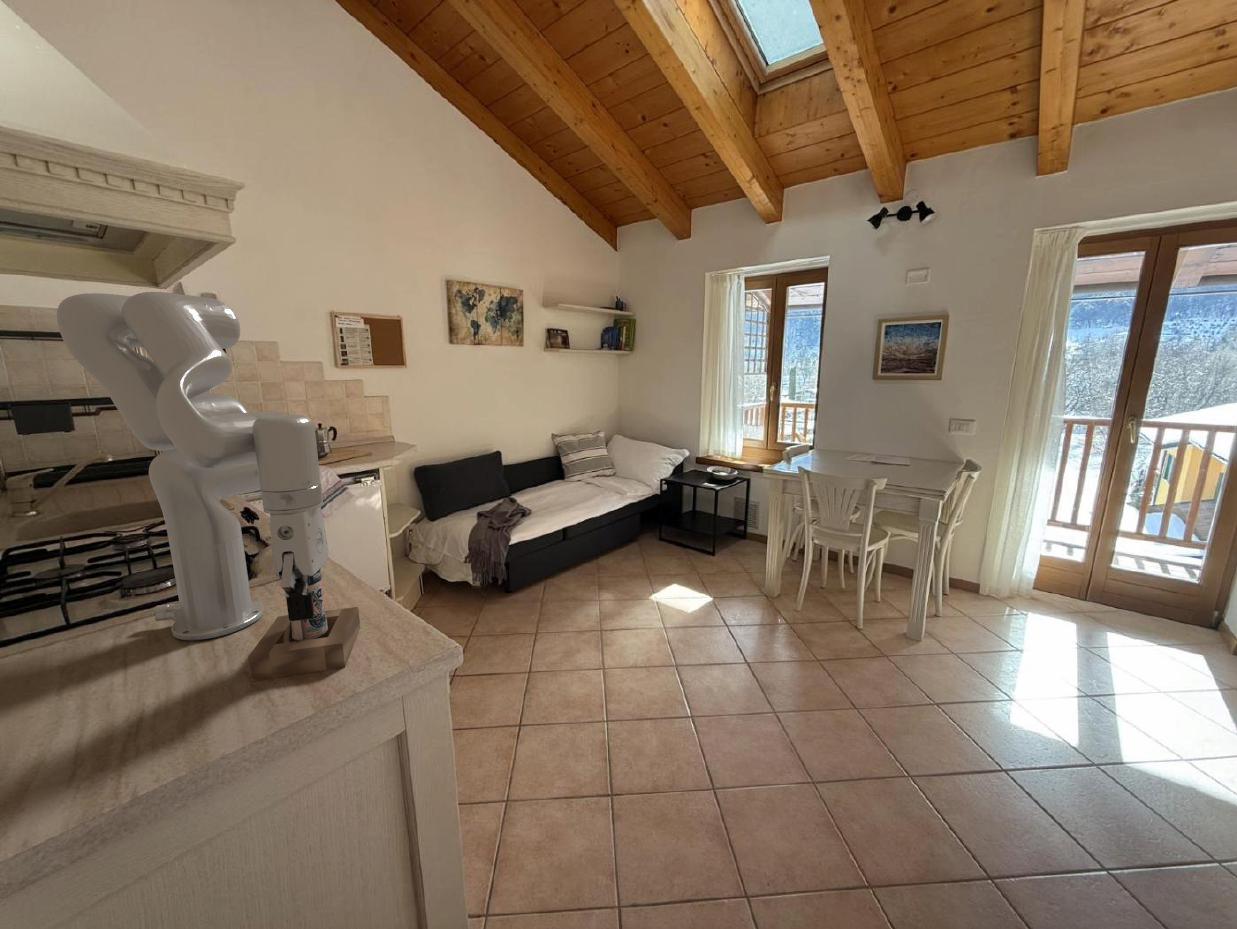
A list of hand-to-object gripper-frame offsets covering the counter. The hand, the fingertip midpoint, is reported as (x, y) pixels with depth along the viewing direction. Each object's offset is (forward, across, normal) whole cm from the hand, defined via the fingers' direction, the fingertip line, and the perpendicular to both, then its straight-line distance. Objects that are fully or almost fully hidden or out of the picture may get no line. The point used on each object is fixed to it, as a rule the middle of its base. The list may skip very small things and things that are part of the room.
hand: (307, 609), depth 77 cm
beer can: (+5, 0, 0) cm, 5 cm away
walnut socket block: (+7, 0, 0) cm, 7 cm away
